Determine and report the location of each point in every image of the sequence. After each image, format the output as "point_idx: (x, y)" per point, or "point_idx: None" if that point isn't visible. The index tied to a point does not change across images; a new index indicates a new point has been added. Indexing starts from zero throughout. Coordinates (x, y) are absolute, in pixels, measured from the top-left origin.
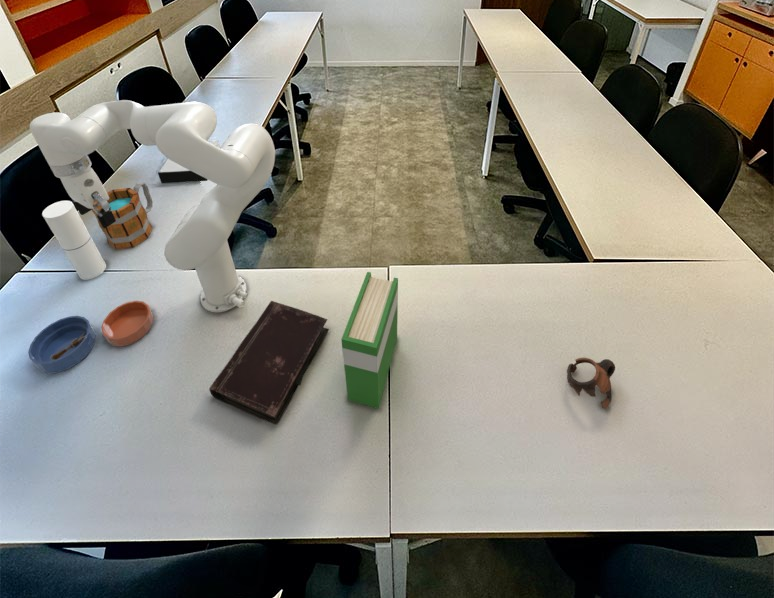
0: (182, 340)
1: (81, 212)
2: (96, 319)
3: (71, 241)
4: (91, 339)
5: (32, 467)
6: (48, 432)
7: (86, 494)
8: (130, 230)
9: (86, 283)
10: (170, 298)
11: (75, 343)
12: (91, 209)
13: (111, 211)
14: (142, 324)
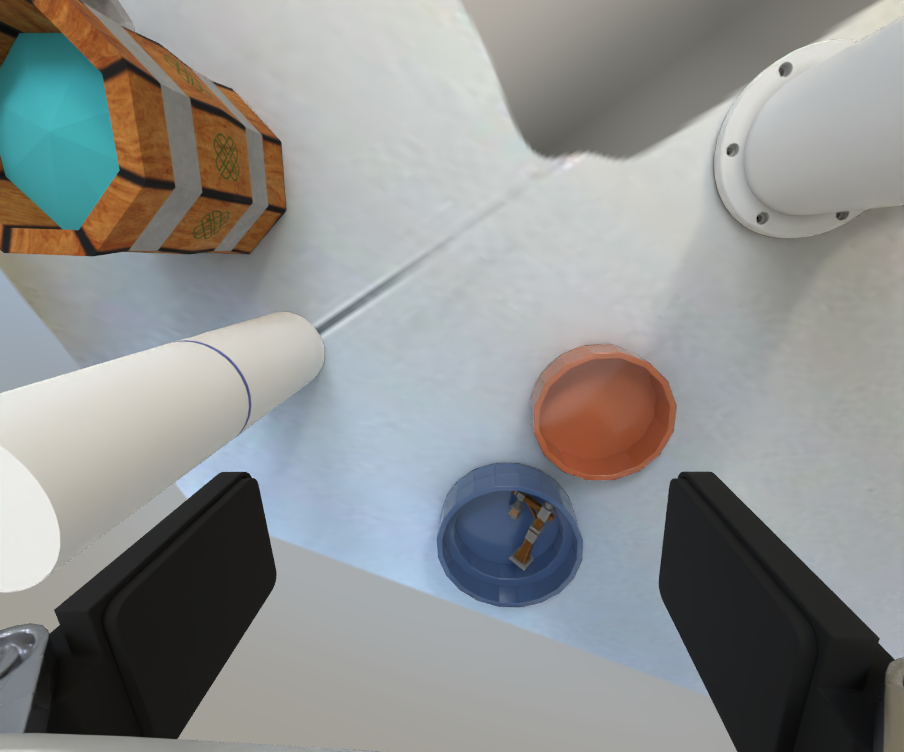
0: (789, 354)
1: (259, 609)
2: (483, 440)
3: (218, 441)
4: (561, 495)
5: None
6: (667, 624)
7: None
8: (239, 179)
9: (326, 388)
10: (621, 277)
11: (542, 525)
12: (256, 499)
13: (828, 592)
14: (670, 405)
